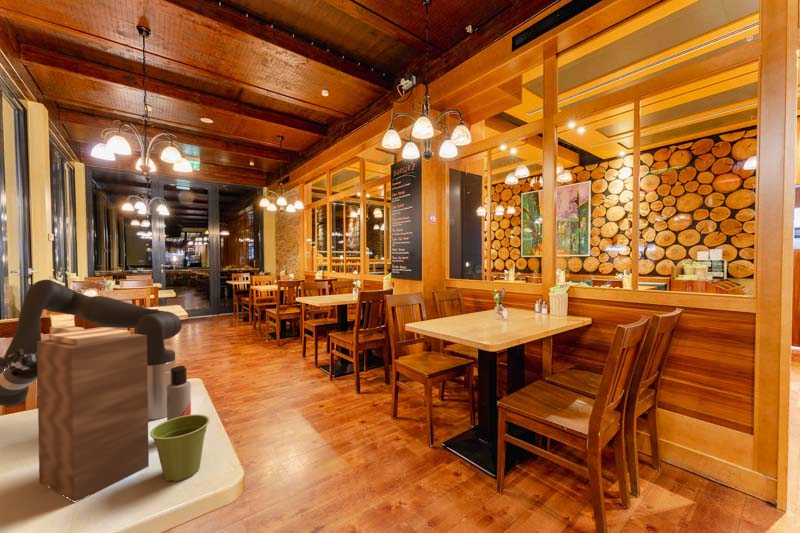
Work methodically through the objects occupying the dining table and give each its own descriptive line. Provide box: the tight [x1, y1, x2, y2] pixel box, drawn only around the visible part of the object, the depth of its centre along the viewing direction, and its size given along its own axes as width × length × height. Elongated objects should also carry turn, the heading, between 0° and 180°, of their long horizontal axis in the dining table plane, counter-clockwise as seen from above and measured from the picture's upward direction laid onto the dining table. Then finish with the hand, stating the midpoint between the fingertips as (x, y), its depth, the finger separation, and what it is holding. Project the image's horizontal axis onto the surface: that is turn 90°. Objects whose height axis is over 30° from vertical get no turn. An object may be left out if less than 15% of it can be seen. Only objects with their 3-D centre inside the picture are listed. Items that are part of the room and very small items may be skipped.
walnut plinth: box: [37, 332, 150, 501], centre depth 80 cm, size 16×14×32 cm
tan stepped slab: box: [48, 324, 131, 345], centre depth 82 cm, size 23×10×2 cm, turn 65°
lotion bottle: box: [166, 365, 192, 421], centre depth 97 cm, size 6×6×20 cm
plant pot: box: [149, 414, 210, 482], centre depth 80 cm, size 12×12×11 cm
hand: (44, 348), depth 90 cm, fingers open, 8 cm apart
